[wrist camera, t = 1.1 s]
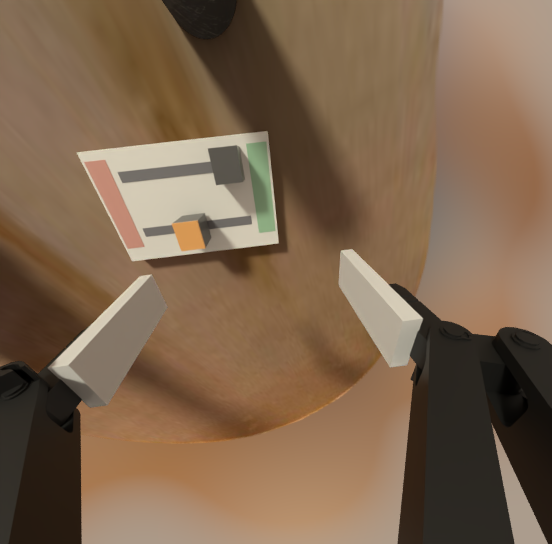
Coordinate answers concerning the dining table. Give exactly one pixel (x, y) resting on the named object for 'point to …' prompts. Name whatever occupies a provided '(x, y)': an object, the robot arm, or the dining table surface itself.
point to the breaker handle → (192, 232)
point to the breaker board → (187, 192)
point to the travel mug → (202, 16)
